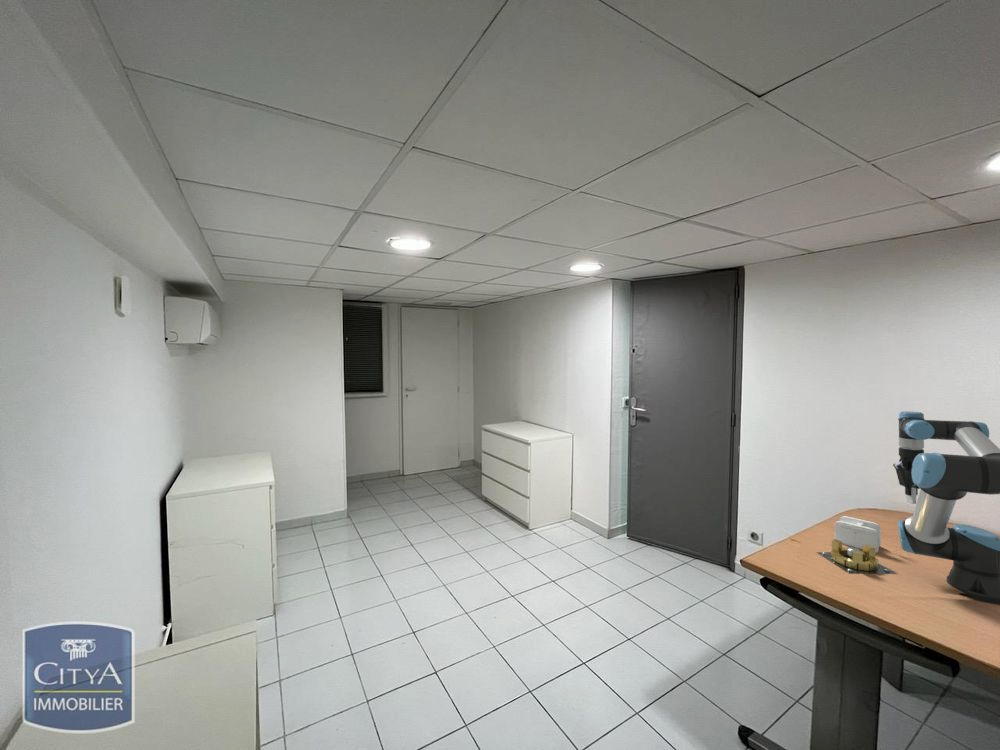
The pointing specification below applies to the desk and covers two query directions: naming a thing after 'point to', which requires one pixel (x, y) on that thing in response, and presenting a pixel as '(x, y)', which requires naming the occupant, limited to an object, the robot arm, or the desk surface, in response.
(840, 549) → the ring nut
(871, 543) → the cable organizer
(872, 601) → the desk surface
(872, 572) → the flange
